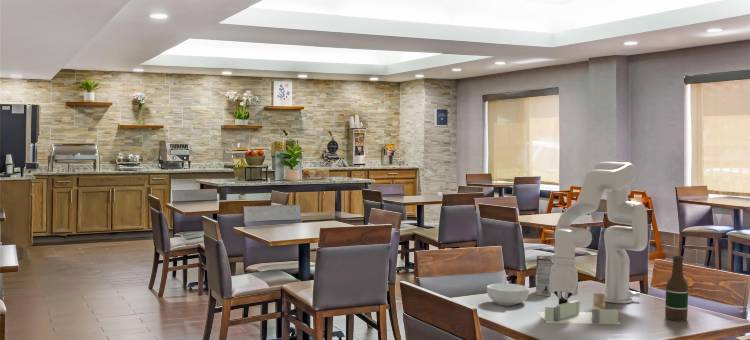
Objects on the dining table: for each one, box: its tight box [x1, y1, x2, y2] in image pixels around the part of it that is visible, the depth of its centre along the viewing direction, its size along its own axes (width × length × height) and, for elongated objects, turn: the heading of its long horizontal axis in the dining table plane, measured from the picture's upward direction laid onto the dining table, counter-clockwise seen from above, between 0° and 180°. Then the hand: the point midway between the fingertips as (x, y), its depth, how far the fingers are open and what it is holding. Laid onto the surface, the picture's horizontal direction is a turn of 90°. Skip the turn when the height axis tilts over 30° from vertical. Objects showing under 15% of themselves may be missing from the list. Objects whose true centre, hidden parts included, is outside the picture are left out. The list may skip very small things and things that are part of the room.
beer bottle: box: [664, 255, 689, 322], centre depth 268 cm, size 8×8×24 cm
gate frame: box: [536, 306, 622, 325], centre depth 266 cm, size 27×17×5 cm, turn 91°
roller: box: [592, 292, 606, 309], centre depth 270 cm, size 4×4×8 cm
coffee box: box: [535, 255, 553, 297], centre depth 310 cm, size 9×6×16 cm
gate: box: [555, 299, 580, 319], centre depth 267 cm, size 14×2×5 cm, turn 134°
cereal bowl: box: [486, 283, 530, 307], centre depth 290 cm, size 17×17×7 cm
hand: (562, 309), depth 270 cm, fingers closed
